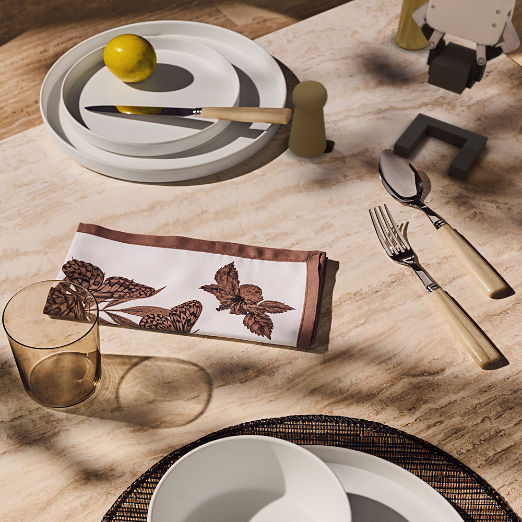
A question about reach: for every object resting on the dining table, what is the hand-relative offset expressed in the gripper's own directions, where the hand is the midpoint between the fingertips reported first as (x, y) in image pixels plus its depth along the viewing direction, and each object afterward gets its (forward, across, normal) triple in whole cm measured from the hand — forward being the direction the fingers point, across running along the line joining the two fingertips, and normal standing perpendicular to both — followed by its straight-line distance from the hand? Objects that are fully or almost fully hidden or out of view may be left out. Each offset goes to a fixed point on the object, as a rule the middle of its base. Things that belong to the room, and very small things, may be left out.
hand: (453, 76), depth 95 cm
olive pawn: (+15, +18, +9) cm, 25 cm away
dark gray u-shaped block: (+14, 0, -1) cm, 14 cm away
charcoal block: (0, 0, 0) cm, 0 cm away
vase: (+14, +17, -27) cm, 35 cm away
